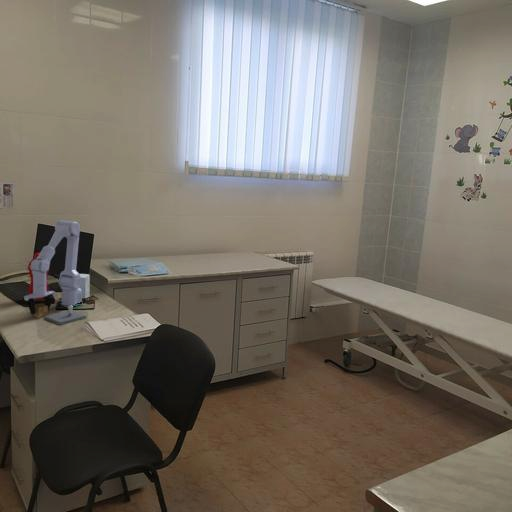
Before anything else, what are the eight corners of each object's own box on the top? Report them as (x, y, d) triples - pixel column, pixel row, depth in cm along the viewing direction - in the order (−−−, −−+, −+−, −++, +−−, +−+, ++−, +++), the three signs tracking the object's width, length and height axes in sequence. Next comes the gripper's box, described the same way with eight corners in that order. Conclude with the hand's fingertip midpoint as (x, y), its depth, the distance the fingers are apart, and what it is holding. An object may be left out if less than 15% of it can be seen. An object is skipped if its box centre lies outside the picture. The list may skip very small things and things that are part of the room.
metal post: (70, 317, 238) (70, 305, 237) (73, 318, 237) (73, 305, 236) (67, 317, 236) (67, 305, 235) (69, 318, 235) (70, 306, 234)
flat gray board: (70, 312, 244) (70, 310, 244) (86, 318, 238) (86, 315, 238) (44, 318, 233) (44, 316, 233) (60, 324, 226) (60, 322, 226)
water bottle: (31, 296, 267) (30, 250, 262) (51, 297, 266) (51, 252, 262) (22, 301, 257) (22, 253, 253) (43, 302, 257) (43, 255, 253)
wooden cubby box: (41, 313, 240) (41, 303, 239) (47, 316, 237) (47, 306, 236) (32, 315, 235) (32, 305, 235) (38, 318, 233) (38, 308, 232)
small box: (78, 296, 272) (78, 273, 270) (89, 297, 273) (90, 274, 270) (73, 300, 264) (73, 276, 262) (85, 301, 265) (85, 277, 262)
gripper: (48, 280, 242) (48, 307, 244) (20, 285, 230) (20, 313, 232) (57, 283, 238) (57, 310, 240) (29, 288, 226) (29, 316, 228)
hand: (40, 312), depth 236 cm, fingers open, 7 cm apart
